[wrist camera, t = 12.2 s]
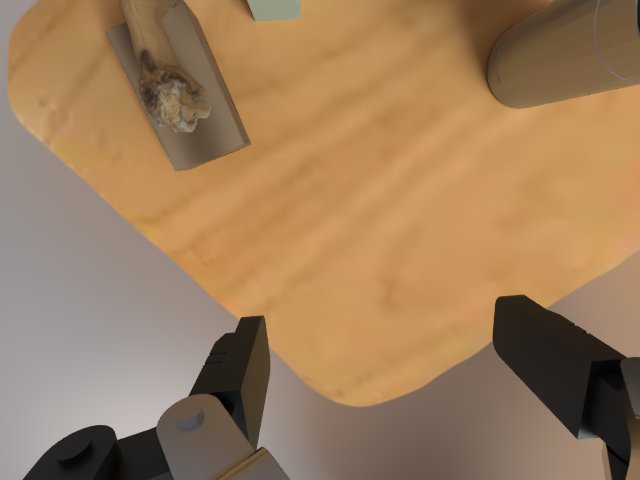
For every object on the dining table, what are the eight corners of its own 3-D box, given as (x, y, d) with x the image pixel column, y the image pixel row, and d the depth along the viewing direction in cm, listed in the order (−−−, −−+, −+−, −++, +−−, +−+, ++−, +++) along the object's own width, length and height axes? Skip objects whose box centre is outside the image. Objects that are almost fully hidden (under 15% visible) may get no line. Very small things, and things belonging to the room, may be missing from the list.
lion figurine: (234, 127, 33) (208, 117, 24) (187, 145, 33) (144, 142, 24) (167, -32, 29) (107, -112, 20) (115, -9, 29) (34, -80, 20)
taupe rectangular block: (198, 19, 34) (180, -2, 30) (251, 144, 38) (243, 143, 33) (133, 48, 35) (105, 31, 30) (191, 169, 38) (175, 171, 34)
